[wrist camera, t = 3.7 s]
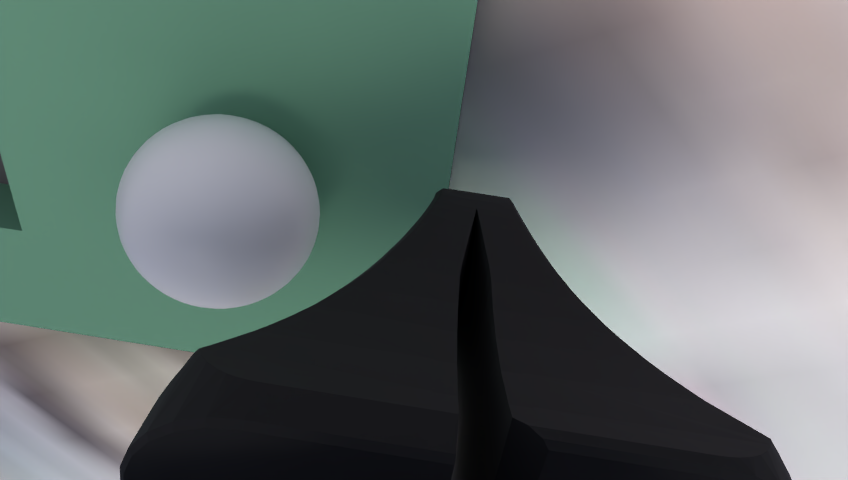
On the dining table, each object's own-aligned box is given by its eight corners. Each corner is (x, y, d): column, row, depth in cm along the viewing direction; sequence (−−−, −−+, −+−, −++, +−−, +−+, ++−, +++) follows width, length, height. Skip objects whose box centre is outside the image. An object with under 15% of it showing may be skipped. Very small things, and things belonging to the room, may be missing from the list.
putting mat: (-266, 226, 18) (-345, 266, 16) (-548, -261, 12) (-720, -278, 10) (425, 335, 17) (417, 387, 16) (495, -116, 11) (494, -107, 10)
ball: (179, 228, 14) (93, 332, 11) (160, 73, 12) (50, 150, 9) (334, 252, 14) (289, 364, 11) (341, 101, 12) (289, 187, 9)
